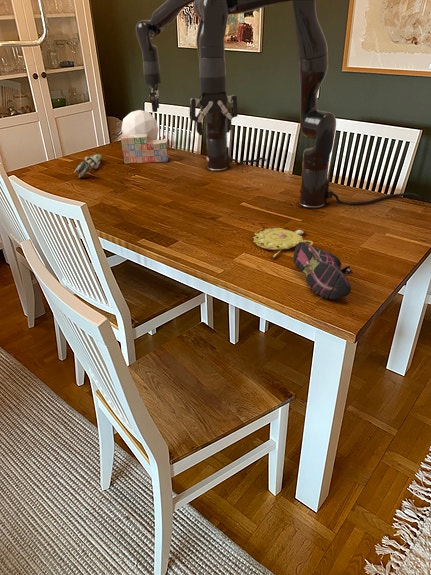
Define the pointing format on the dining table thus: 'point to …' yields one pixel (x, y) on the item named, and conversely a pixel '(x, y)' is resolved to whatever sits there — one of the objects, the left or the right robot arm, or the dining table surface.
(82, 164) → the figurine
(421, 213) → the dining table surface
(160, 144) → the stack of blocks
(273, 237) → the decorative object
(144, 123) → the sphere
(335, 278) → the athletic shoe
